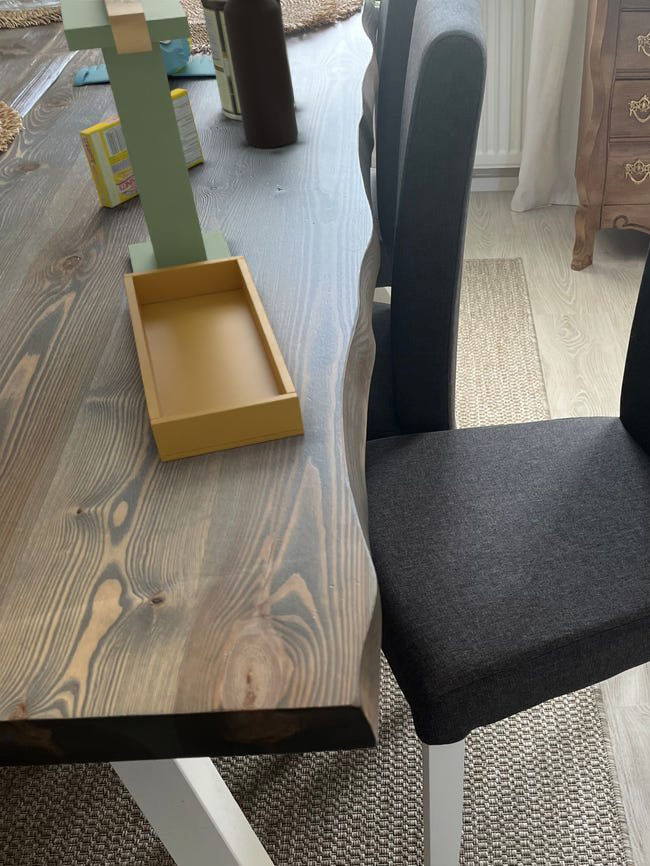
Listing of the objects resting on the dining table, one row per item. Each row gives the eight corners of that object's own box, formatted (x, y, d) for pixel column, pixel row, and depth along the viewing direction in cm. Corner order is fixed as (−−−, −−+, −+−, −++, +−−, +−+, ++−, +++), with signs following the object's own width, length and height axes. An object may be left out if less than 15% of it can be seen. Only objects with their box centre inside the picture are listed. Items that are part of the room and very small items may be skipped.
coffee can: (278, 92, 144) (261, -24, 134) (307, 112, 138) (292, -7, 128) (210, 105, 141) (187, -12, 131) (237, 127, 134) (215, 5, 124)
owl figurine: (258, -9, 150) (250, 21, 140) (268, 55, 156) (261, 89, 146) (68, 0, 149) (46, 31, 138) (86, 64, 155) (66, 99, 145)
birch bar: (152, 51, 77) (143, 12, 75) (118, 54, 77) (108, 15, 75) (130, -10, 91) (123, -44, 89) (101, -7, 90) (92, -42, 88)
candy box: (192, 158, 127) (176, 87, 121) (205, 161, 126) (190, 89, 120) (98, 205, 117) (77, 129, 111) (112, 209, 116) (91, 133, 110)
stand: (241, 288, 101) (187, 16, 84) (140, 306, 99) (63, 29, 82) (221, 233, 111) (168, -22, 94) (129, 248, 108) (57, -11, 91)
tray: (304, 433, 83) (298, 396, 80) (161, 462, 80) (150, 425, 78) (250, 288, 101) (243, 254, 99) (132, 308, 99) (122, 273, 96)
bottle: (244, 133, 132) (211, -47, 118) (295, 128, 134) (269, -52, 119) (248, 151, 128) (215, -34, 114) (301, 145, 129) (275, -39, 115)
